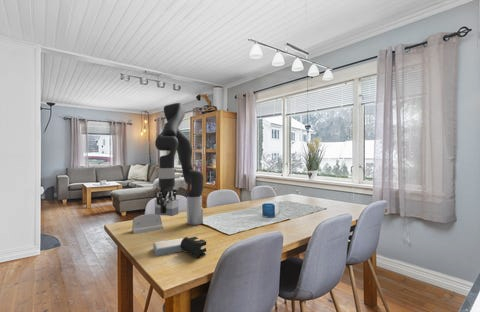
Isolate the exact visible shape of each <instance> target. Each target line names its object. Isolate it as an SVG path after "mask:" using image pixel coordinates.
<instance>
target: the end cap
mask: <svg viewBox="0 0 480 312" xmlns="http://www.w3.org/2000/svg"><path fill="white" fill-rule="evenodd" d="M205 246H207V241H206V240H204V239H200V240H199V237H197V236H192V237H188V236H185V237H183V240H182V241H181V249H182V250H183V251H182V252H185V253H187V254H189V255H191V256H193V257H195V258H198V259H199V258H201V257H204V256H206V252H207V247H205ZM203 247H204V248H203Z"/></svg>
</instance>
